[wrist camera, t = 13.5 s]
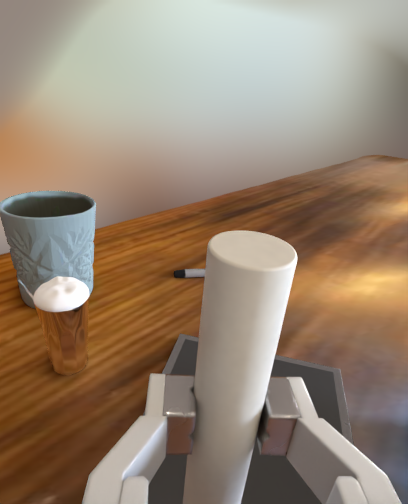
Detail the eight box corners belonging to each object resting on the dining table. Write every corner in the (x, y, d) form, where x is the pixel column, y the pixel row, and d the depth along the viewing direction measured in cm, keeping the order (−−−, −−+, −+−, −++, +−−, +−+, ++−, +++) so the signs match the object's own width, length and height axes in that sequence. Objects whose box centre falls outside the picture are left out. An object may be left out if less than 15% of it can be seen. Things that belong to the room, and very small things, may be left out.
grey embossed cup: (-3, 298, 41) (-25, 205, 36) (58, 264, 50) (49, 184, 44) (62, 323, 38) (49, 225, 33) (116, 282, 47) (113, 199, 41)
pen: (173, 275, 50) (173, 268, 49) (275, 270, 54) (277, 263, 53) (174, 280, 49) (174, 272, 48) (279, 275, 52) (280, 267, 52)
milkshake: (36, 354, 34) (20, 266, 29) (91, 342, 36) (84, 259, 31) (35, 388, 30) (16, 295, 26) (97, 374, 32) (90, 285, 28)
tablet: (412, 816, 13) (421, 812, 13) (36, 656, 16) (33, 649, 16) (338, 374, 35) (340, 368, 34) (179, 339, 38) (180, 332, 37)
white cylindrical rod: (228, 569, 13) (299, 276, 7) (173, 551, 13) (198, 258, 7) (236, 507, 15) (297, 237, 9) (188, 492, 15) (217, 224, 9)
